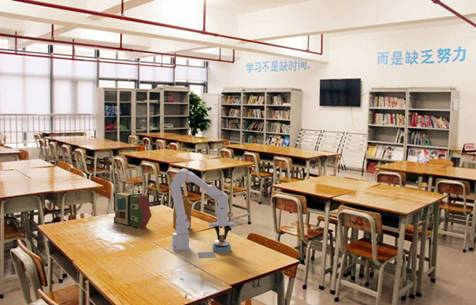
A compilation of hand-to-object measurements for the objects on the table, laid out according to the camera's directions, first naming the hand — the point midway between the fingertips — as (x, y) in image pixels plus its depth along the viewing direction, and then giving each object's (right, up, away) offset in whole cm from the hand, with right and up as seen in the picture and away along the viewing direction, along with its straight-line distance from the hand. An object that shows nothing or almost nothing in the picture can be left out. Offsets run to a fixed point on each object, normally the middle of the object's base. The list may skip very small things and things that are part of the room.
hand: (221, 239), depth 239 cm
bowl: (0, -6, +1) cm, 6 cm away
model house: (-61, 0, +44) cm, 76 cm away
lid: (0, -2, 0) cm, 2 cm away
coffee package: (-28, -1, +45) cm, 52 cm away
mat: (-8, -7, -8) cm, 13 cm away
